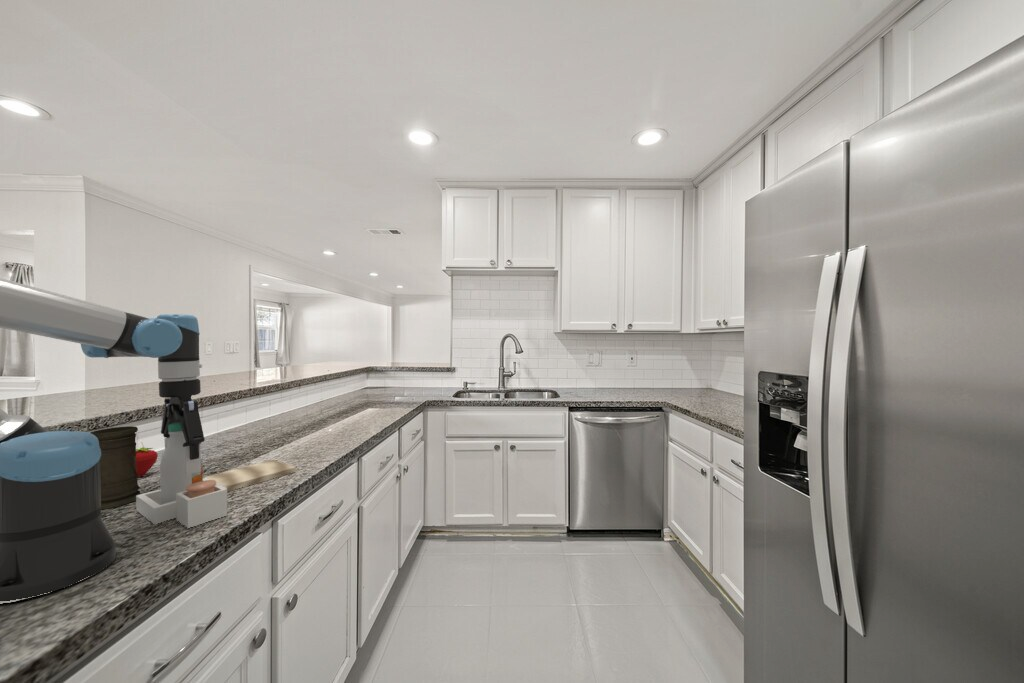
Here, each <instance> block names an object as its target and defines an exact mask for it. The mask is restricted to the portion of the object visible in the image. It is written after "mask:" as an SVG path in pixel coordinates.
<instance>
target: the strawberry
mask: <svg viewBox="0 0 1024 683" xmlns="http://www.w3.org/2000/svg"><path fill="white" fill-rule="evenodd" d="M141 444H142V447H139V448H136V468H137V476H138V478H139V477H143V476H145V475H146V474H147V473H148V472H149V471H150V469H151V468H153V466H154V465H155V464H156V462H157V460H158V458H159V457H158V456H159V455H158V452H157V451H155V450H152V449H154V448H153V447H145V446H144V444H143V442H142V441H141Z"/></svg>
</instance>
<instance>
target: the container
mask: <svg viewBox="0 0 1024 683" xmlns="http://www.w3.org/2000/svg"><path fill="white" fill-rule="evenodd" d="M138 431H139V429H138V427H137V426H133V425H132V426H131V425H129V426H116V427H108V428H103V429H98V430H94V431H91V432H90V433H91V434H93V435H95V436H96V437H97V438H98V441H99V447H100V449H101V456H100V486H101V510H107V509H112V508H113V509H114V508H117V507H121V506H125V505H127V504H130V503H133V502H136V495H140V494H142V493H141V491H139V490H140V486H139V483H138V478H139V476H137V468H136V449H137V442H136V438H137V432H138Z"/></svg>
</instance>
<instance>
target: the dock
mask: <svg viewBox="0 0 1024 683" xmlns="http://www.w3.org/2000/svg"><path fill="white" fill-rule="evenodd" d="M206 480H209V479H207V478H204V477H203V481H206ZM135 502H136V504H135V505H136V510H137V511H136V512H138V513H139V514H140V515H141V516H143V517H144V518H145V517H146V518H145V519H147V520H148V521H149V522H150V521H151V523H152V524H153V525H154V524H155V525H159V524H161V522H162V523H165V522H167V521H166V520H168V521H171V520H170V519H172V520H174V519H173V518H175V519H176V522H178V521H179V522H180V523H182V524H183V525H185V526H186V527H188V528H190V527H193V526H196V525H199V524H202V523H205V522H208V521H211V520H214V519H217V518H220V519H222V518H221V517H223V516H226V517H227V516H228V492H227V488H226V487H224V486H222V485H220V484H217V483H216V485H215V486H214V492H212V493H208V494H205V495H201V496H198V497H194V498H189V492H188V491H184V492H180V493H176V501H173V502H170V503H166V504H162V505H161V488H160V489H157V490H152V491H148V492H144V493H141V494H140V495H136V500H135ZM223 518H224V517H223ZM217 520H218V519H217ZM164 521H165V522H164ZM214 521H215V520H214ZM179 522H178V523H179ZM211 522H212V521H211ZM158 523H159V524H158ZM180 523H179V524H180ZM208 523H209V522H208ZM182 524H181V525H182ZM205 524H206V523H205ZM183 525H182V526H183ZM202 525H203V524H202ZM185 526H184V527H185ZM199 526H200V525H199ZM186 527H185V528H186ZM196 527H197V526H196ZM188 528H187V529H188ZM193 528H194V527H193ZM190 529H191V528H190Z"/></svg>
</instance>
